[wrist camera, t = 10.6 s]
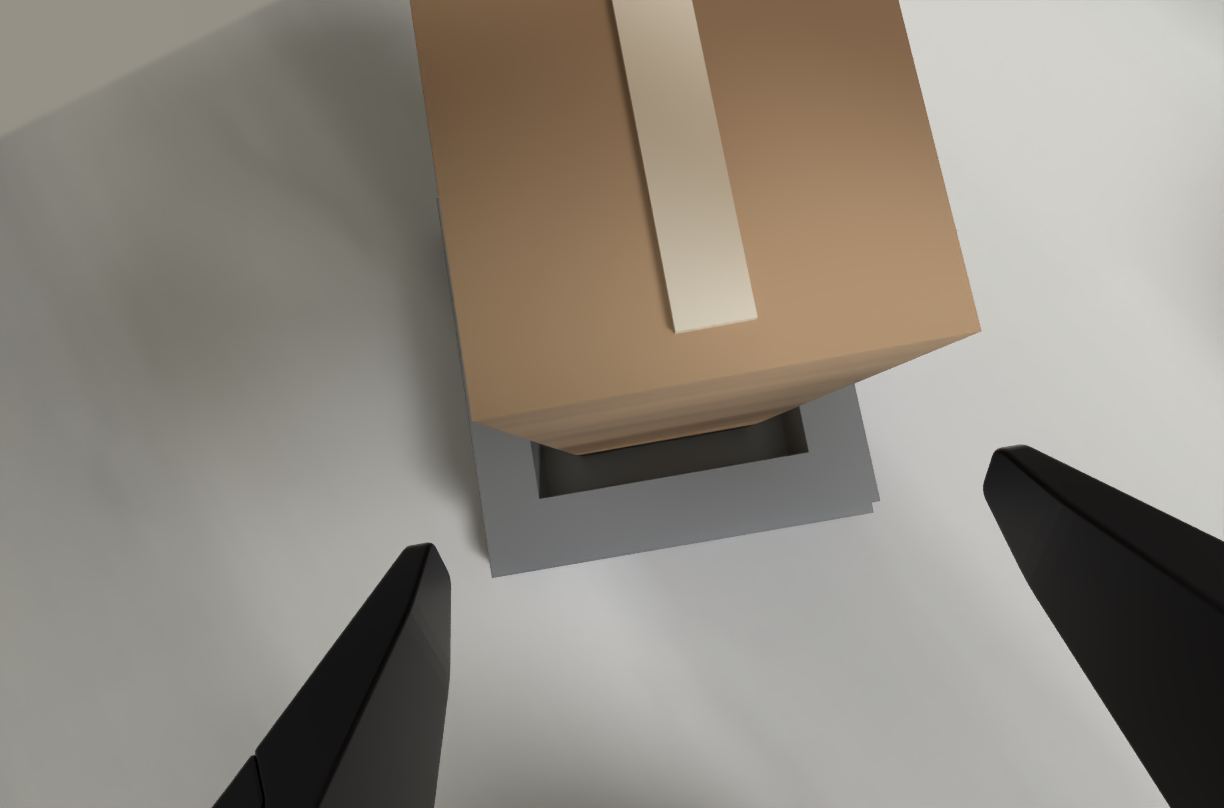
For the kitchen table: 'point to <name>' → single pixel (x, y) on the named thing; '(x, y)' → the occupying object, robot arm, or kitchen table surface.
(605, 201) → the tall cardboard box
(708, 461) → the square gray tray
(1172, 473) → the kitchen table surface
